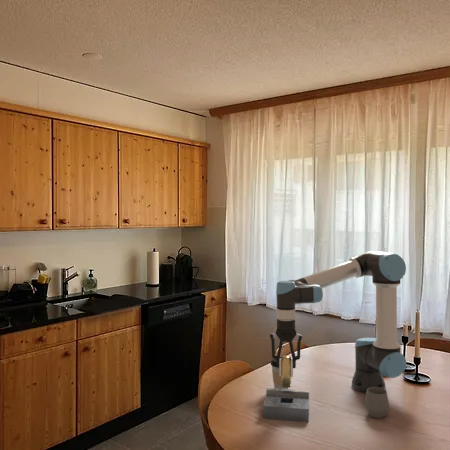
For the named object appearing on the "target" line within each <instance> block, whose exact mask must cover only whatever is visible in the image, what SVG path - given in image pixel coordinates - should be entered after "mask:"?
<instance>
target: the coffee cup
mask: <svg viewBox="0 0 450 450" xmlns="http://www.w3.org/2000/svg"><path fill="white" fill-rule="evenodd" d="M280 358H281V356H280ZM270 366H271V368H272V369H271V371H272V373H271V374H272V382H273V388H276V389H289V388H284V387H282V386H281V376H279V367H277V360H276V359H275V358H272V359H271V361H270Z"/></svg>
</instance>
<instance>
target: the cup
mask: <svg viewBox="0 0 450 450" xmlns="http://www.w3.org/2000/svg"><path fill="white" fill-rule="evenodd" d="M388 398H389V397H388V391H387V390H386V389H382V388H378V387H371V388H368V389H367V392H366V394H365V400H364V407H365V410H366V411H367V413H368V415H369V416H370V417H373V418H378V419H381V418H385V417H386V415H387V413H388V411H389V410H390V404H389V403H390V402H389V399H388Z"/></svg>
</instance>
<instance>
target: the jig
mask: <svg viewBox="0 0 450 450" xmlns="http://www.w3.org/2000/svg"><path fill="white" fill-rule="evenodd" d="M265 390H266V391H265V398H264V401H263V405H262V419H267V420H268V419H269V420H279V421H280V420H281V421H282V420H283V421H291V422H292V421H293V422H305V423H309V422H310V419H309V418H310V390H303V389H292V388H288V389H276V388H274V387H266V389H265Z"/></svg>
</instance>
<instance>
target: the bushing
mask: <svg viewBox="0 0 450 450" xmlns="http://www.w3.org/2000/svg"><path fill="white" fill-rule="evenodd" d="M280 357H281V386H282V387H284V388H288V389H290V388H291V387H292V377H291V359H292V355H280Z"/></svg>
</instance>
